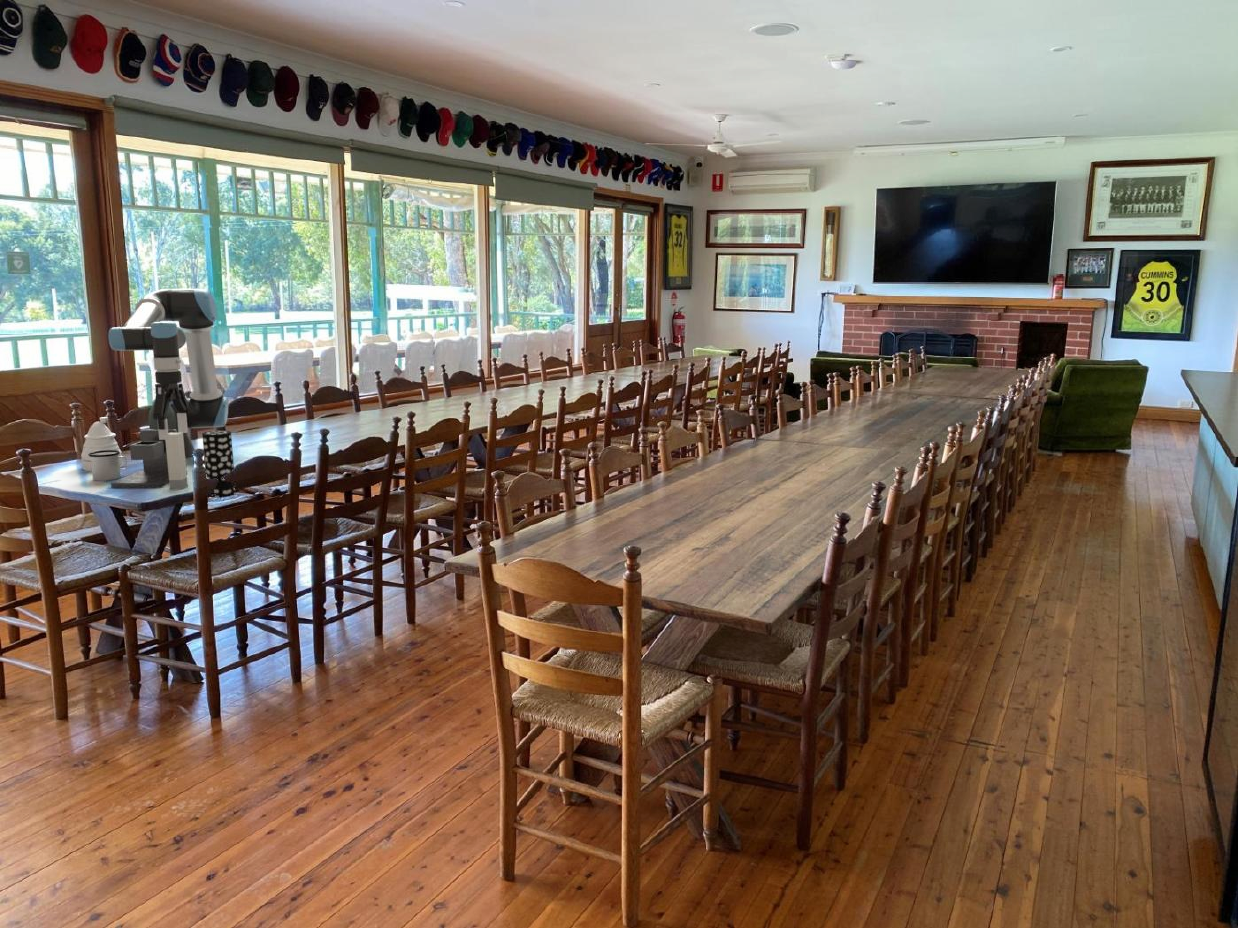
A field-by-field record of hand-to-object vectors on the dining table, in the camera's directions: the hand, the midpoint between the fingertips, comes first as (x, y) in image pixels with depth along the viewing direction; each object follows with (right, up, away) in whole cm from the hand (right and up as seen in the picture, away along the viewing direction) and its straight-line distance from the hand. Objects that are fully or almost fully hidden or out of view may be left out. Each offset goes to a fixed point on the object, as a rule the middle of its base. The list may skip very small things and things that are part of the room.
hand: (173, 436), depth 298 cm
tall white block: (0, -17, +4) cm, 17 cm away
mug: (-30, -14, +18) cm, 38 cm away
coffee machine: (-14, -15, +13) cm, 24 cm away
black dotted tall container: (+18, -19, -6) cm, 27 cm away
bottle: (-21, -10, +38) cm, 44 cm away
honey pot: (-43, -10, +35) cm, 56 cm away
